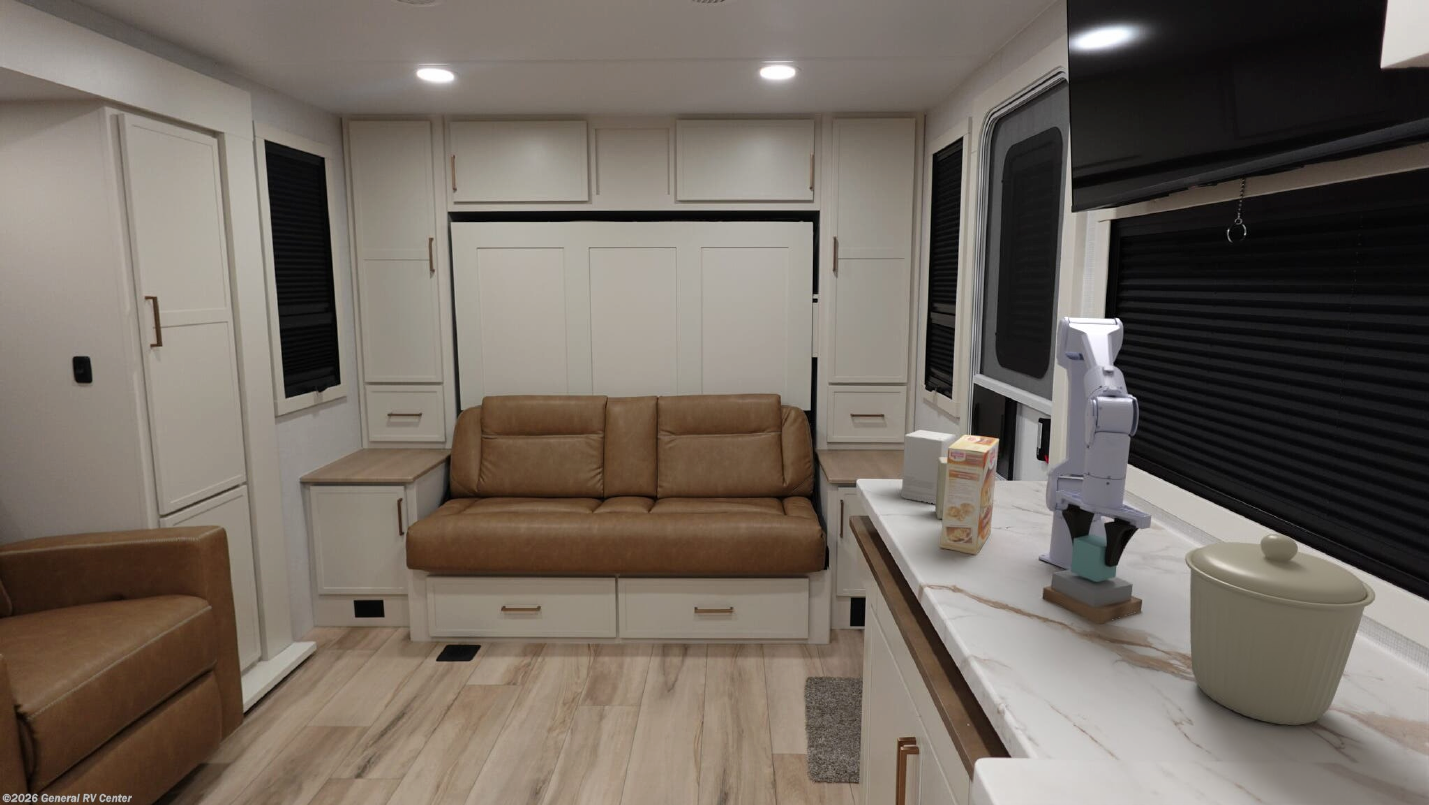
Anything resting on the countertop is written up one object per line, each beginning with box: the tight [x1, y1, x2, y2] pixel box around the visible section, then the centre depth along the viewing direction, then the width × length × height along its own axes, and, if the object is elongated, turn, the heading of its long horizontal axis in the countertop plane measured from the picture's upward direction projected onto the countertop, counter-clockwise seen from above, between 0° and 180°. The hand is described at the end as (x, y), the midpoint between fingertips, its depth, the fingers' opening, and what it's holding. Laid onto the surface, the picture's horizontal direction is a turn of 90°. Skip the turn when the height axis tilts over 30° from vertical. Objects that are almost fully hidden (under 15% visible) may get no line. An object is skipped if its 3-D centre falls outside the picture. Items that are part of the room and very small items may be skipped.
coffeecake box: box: [939, 434, 1000, 556], centre depth 145 cm, size 15×7×20 cm, turn 150°
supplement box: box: [901, 429, 957, 505], centre depth 174 cm, size 9×9×15 cm
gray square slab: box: [1050, 569, 1134, 608], centre depth 118 cm, size 8×8×2 cm
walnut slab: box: [1041, 585, 1143, 625], centre depth 119 cm, size 10×10×2 cm
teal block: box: [1071, 534, 1118, 582], centre depth 117 cm, size 4×4×6 cm
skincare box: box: [934, 457, 947, 520], centre depth 161 cm, size 6×4×12 cm
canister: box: [1184, 533, 1376, 726], centre depth 90 cm, size 18×18×21 cm
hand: (1095, 559), depth 118 cm, fingers open, 5 cm apart
